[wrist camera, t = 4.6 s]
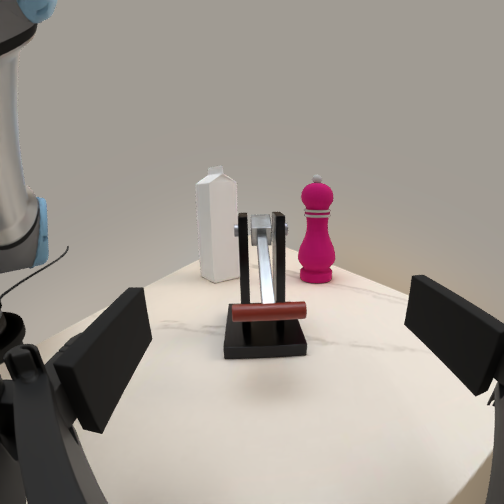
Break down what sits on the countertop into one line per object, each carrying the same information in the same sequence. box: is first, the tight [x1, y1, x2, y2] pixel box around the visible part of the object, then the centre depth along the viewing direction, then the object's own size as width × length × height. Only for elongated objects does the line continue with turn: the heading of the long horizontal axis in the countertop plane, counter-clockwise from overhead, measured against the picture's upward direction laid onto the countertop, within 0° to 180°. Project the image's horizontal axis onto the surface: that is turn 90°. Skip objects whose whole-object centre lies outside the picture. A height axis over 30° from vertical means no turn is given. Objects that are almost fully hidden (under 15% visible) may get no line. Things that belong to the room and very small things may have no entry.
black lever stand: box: [224, 212, 307, 359], centre depth 34 cm, size 12×9×15 cm
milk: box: [196, 165, 240, 283], centre depth 56 cm, size 6×6×22 cm
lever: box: [232, 215, 307, 322], centre depth 28 cm, size 14×6×2 cm, turn 1°
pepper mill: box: [298, 175, 335, 283], centre depth 53 cm, size 7×7×20 cm
